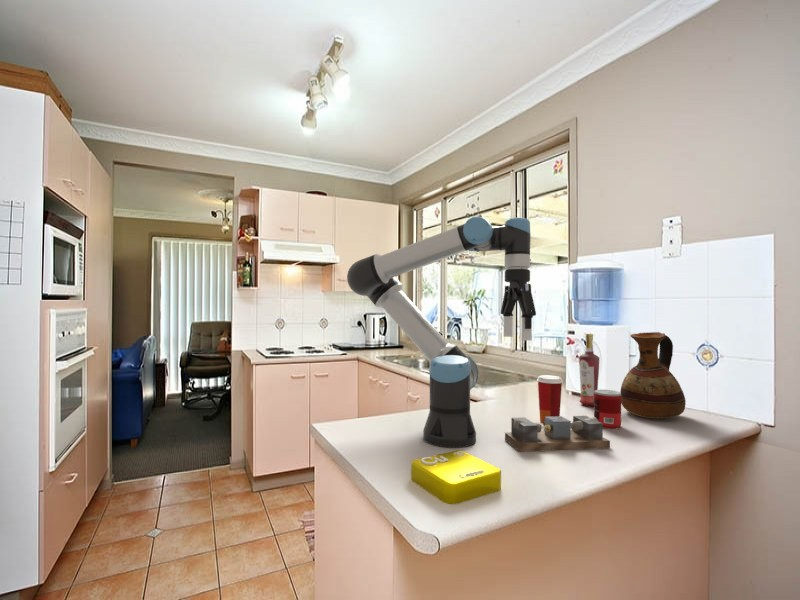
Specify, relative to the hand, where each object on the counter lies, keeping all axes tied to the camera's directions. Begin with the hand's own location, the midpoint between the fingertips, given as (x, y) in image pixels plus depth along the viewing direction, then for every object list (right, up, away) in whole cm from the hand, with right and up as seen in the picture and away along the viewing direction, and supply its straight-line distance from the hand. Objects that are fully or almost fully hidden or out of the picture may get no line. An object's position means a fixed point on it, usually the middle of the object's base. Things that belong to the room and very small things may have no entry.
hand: (516, 338), depth 127 cm
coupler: (+8, -27, -10) cm, 30 cm away
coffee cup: (+14, -29, +12) cm, 35 cm away
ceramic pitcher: (+54, -30, +21) cm, 65 cm away
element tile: (-24, -29, -37) cm, 52 cm away
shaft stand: (+8, -29, -10) cm, 32 cm away
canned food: (+32, -29, +8) cm, 44 cm away
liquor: (+38, -30, +35) cm, 60 cm away
